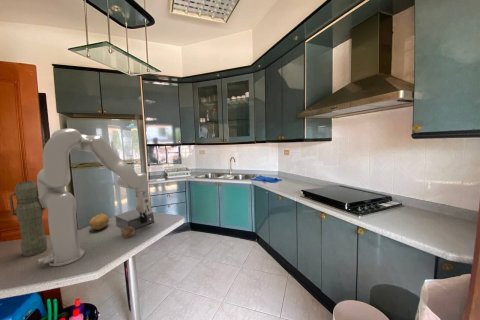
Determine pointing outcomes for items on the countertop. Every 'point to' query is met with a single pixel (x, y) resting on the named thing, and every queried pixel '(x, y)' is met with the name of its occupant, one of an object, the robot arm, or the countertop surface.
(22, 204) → the thermos
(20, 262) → the countertop surface
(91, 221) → the potato
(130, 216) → the box
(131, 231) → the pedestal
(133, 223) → the tray
